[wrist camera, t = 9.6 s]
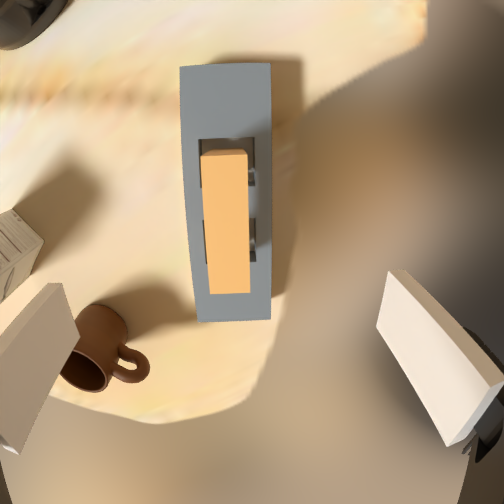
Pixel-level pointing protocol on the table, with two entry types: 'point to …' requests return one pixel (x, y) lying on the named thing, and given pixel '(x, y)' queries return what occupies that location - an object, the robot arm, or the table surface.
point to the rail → (259, 175)
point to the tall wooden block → (226, 219)
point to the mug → (102, 352)
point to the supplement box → (16, 251)
